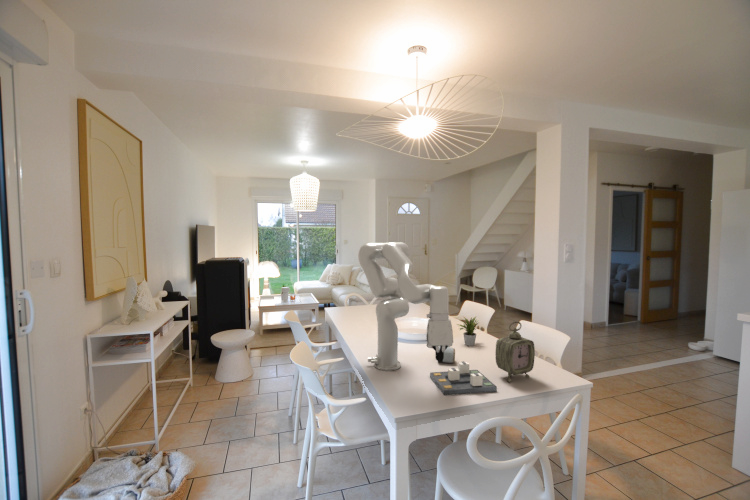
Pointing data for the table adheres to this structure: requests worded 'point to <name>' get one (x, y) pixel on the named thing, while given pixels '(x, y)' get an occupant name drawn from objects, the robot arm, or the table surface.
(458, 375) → the block
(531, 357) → the tabletop clock
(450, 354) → the ceramic mug
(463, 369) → the far toggle
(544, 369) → the table surface
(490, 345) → the table surface
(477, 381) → the near toggle
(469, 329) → the house plant
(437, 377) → the board
